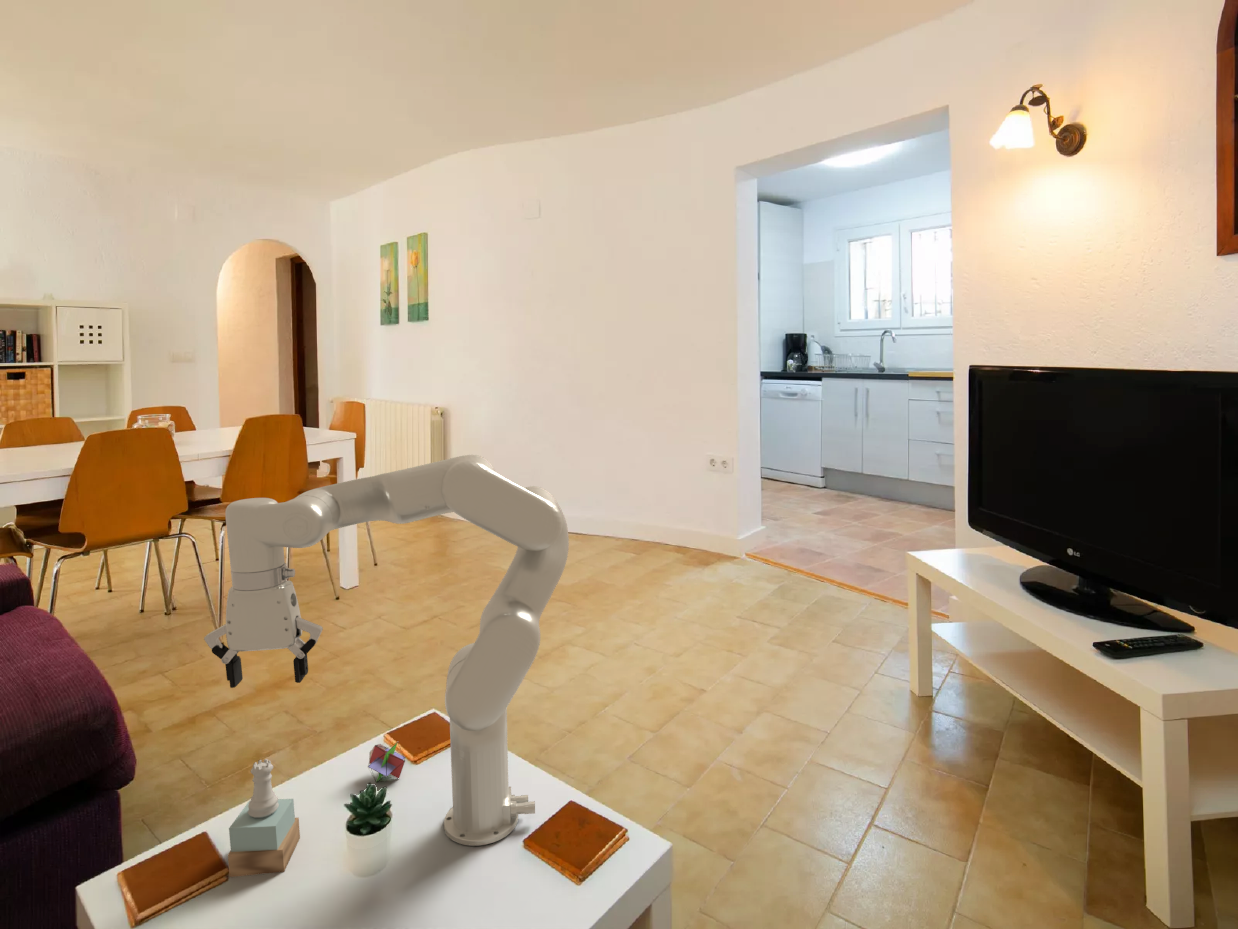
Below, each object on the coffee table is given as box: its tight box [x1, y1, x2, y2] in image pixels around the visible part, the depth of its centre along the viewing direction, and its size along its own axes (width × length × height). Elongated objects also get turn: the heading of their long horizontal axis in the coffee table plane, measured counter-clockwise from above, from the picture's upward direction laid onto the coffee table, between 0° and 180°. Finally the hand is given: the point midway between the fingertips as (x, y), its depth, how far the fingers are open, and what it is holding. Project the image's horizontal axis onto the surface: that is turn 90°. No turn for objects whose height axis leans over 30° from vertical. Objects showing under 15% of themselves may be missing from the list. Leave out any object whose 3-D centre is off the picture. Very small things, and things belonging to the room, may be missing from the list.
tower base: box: [227, 817, 301, 878], centre depth 112 cm, size 8×8×4 cm
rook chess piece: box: [248, 759, 279, 818], centre depth 111 cm, size 4×4×8 cm
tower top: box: [228, 798, 296, 852], centre depth 111 cm, size 7×7×4 cm
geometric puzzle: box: [367, 741, 406, 783], centre depth 134 cm, size 7×7×8 cm
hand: (268, 681), depth 111 cm, fingers open, 9 cm apart
